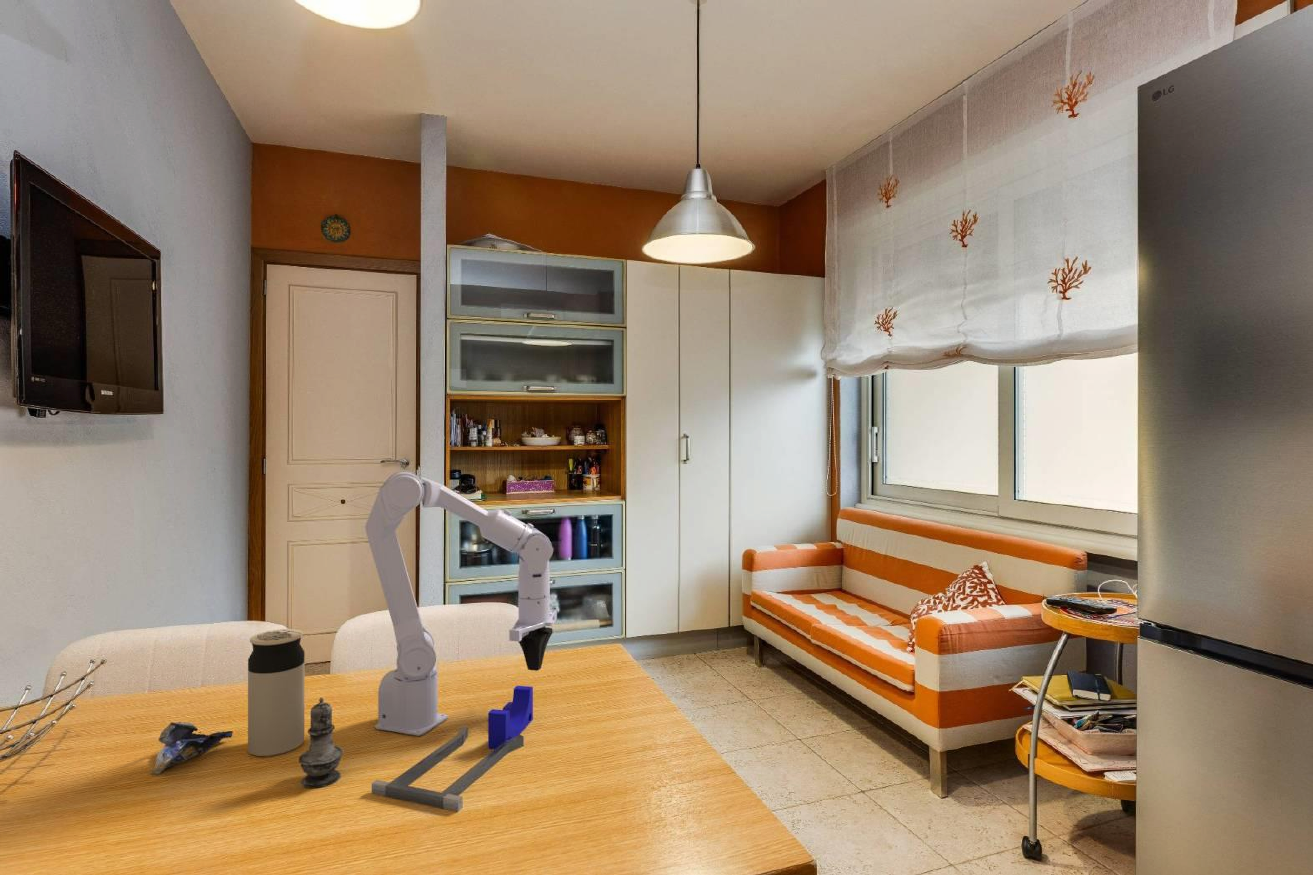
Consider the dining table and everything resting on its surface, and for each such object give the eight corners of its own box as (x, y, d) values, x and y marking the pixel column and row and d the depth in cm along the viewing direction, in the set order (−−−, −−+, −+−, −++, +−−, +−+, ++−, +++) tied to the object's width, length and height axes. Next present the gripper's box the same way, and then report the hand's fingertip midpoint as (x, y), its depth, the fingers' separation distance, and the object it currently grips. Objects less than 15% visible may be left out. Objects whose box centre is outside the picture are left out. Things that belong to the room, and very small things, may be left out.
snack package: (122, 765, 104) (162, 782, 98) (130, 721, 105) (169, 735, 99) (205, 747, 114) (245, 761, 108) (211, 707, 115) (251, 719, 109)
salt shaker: (298, 793, 95) (298, 708, 95) (298, 774, 100) (298, 693, 100) (344, 783, 97) (344, 700, 97) (342, 765, 103) (342, 687, 103)
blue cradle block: (508, 718, 120) (509, 684, 120) (532, 720, 120) (532, 686, 120) (479, 749, 109) (479, 711, 109) (505, 751, 108) (505, 714, 108)
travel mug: (264, 762, 103) (264, 645, 103) (237, 749, 108) (238, 637, 108) (314, 742, 110) (314, 633, 110) (287, 731, 114) (287, 625, 114)
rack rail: (371, 793, 95) (371, 783, 95) (456, 733, 114) (456, 724, 114) (458, 811, 90) (458, 800, 90) (531, 745, 109) (531, 736, 109)
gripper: (534, 606, 116) (534, 685, 117) (570, 588, 130) (570, 658, 130) (498, 603, 119) (499, 680, 119) (538, 586, 132) (538, 655, 133)
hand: (534, 668), depth 125 cm, fingers closed
